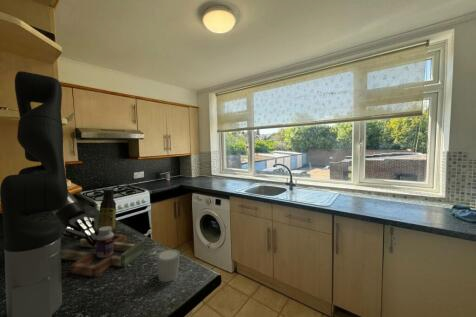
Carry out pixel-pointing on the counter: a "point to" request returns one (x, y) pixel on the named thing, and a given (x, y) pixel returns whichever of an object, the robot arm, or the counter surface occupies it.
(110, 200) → the sauce bottle
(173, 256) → the white cup
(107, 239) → the pill bottle
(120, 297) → the counter surface
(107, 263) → the trap channel
